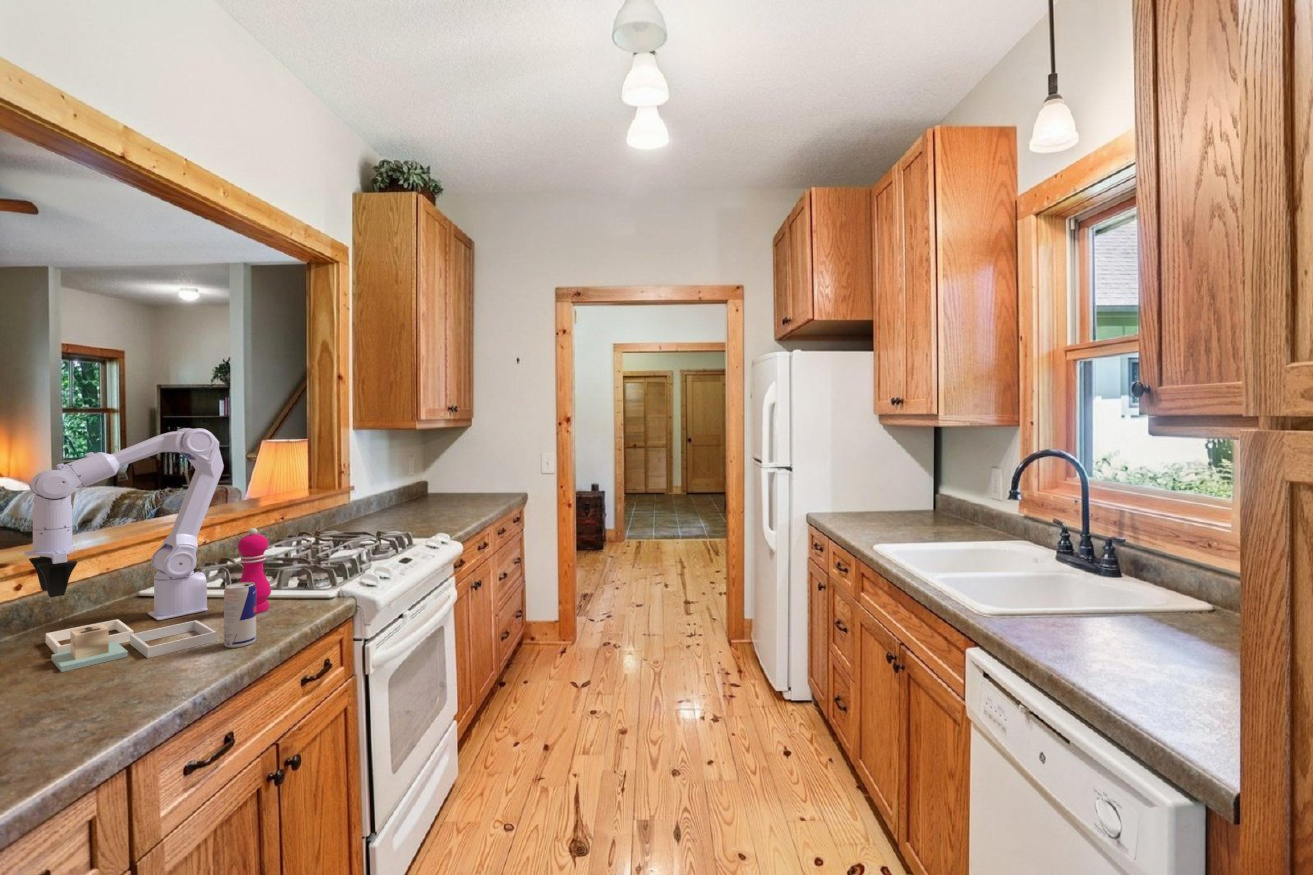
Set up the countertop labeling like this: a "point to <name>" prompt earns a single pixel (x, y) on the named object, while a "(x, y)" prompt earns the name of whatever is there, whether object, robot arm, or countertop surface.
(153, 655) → the white rectangular frame
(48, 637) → the white tray
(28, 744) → the countertop surface
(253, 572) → the pepper mill
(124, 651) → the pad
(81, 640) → the letter cube
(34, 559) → the robot arm
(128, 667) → the countertop surface
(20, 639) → the countertop surface
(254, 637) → the energy drink
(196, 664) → the countertop surface
